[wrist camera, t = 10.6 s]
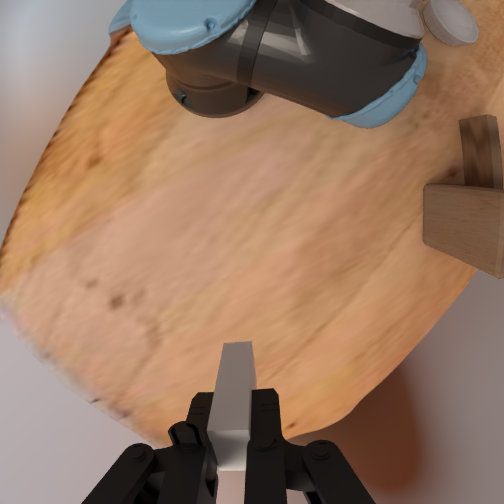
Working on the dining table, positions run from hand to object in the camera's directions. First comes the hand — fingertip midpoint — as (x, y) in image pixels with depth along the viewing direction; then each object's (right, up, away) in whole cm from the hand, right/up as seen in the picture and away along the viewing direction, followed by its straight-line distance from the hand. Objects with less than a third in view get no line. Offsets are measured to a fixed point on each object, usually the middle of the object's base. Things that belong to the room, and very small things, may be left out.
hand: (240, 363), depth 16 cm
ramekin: (+36, +48, +19) cm, 63 cm away
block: (+33, +13, +27) cm, 44 cm away
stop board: (+39, +18, +25) cm, 50 cm away
